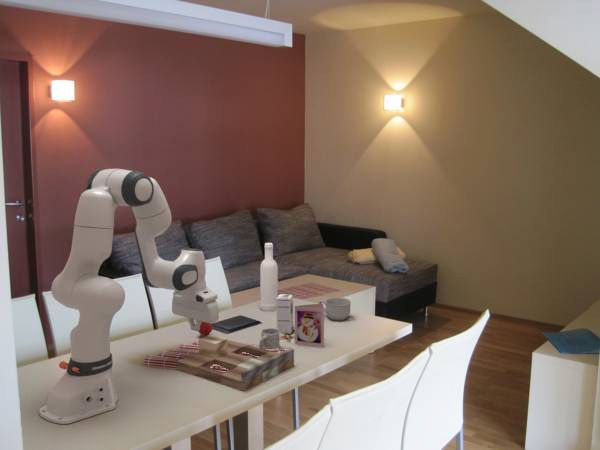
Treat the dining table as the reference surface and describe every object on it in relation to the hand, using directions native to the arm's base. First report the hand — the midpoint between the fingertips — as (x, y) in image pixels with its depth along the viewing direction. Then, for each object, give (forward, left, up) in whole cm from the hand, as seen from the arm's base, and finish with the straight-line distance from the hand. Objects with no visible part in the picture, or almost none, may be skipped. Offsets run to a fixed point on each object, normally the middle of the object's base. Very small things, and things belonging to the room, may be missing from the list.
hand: (195, 330), depth 226 cm
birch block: (-1, -9, -6) cm, 11 cm away
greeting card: (+34, -27, -10) cm, 45 cm away
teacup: (+66, -17, -10) cm, 69 cm away
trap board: (-1, -20, -9) cm, 22 cm away
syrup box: (+40, -10, -10) cm, 43 cm away
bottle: (+60, +14, -10) cm, 63 cm away
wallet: (+34, +12, -10) cm, 38 cm away
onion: (+17, +11, -10) cm, 22 cm away
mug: (+19, -18, -10) cm, 28 cm away
